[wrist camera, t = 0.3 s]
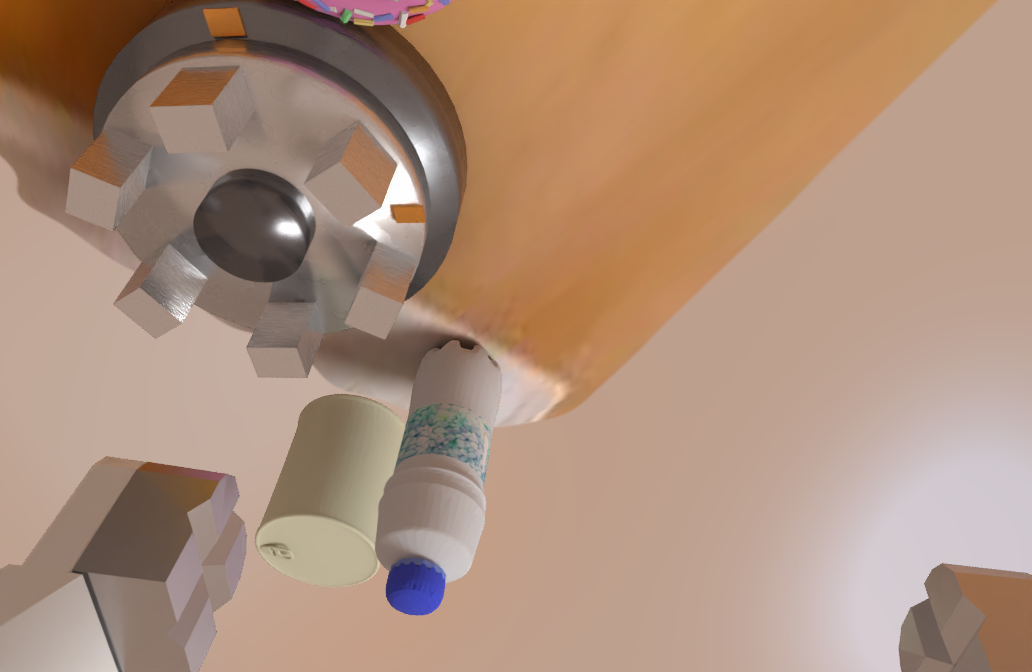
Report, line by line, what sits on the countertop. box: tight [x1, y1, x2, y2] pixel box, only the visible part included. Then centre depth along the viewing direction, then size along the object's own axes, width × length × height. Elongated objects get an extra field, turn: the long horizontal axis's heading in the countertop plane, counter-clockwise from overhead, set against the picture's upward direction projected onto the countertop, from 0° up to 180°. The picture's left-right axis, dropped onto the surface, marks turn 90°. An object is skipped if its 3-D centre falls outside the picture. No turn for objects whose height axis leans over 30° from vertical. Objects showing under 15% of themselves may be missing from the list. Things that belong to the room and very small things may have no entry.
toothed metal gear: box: [65, 39, 431, 378], centre depth 47 cm, size 18×18×6 cm
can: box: [255, 394, 406, 587], centre depth 66 cm, size 9×9×12 cm
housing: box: [93, 0, 467, 301], centre depth 51 cm, size 21×21×4 cm
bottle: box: [375, 340, 502, 615], centre depth 56 cm, size 7×7×20 cm
